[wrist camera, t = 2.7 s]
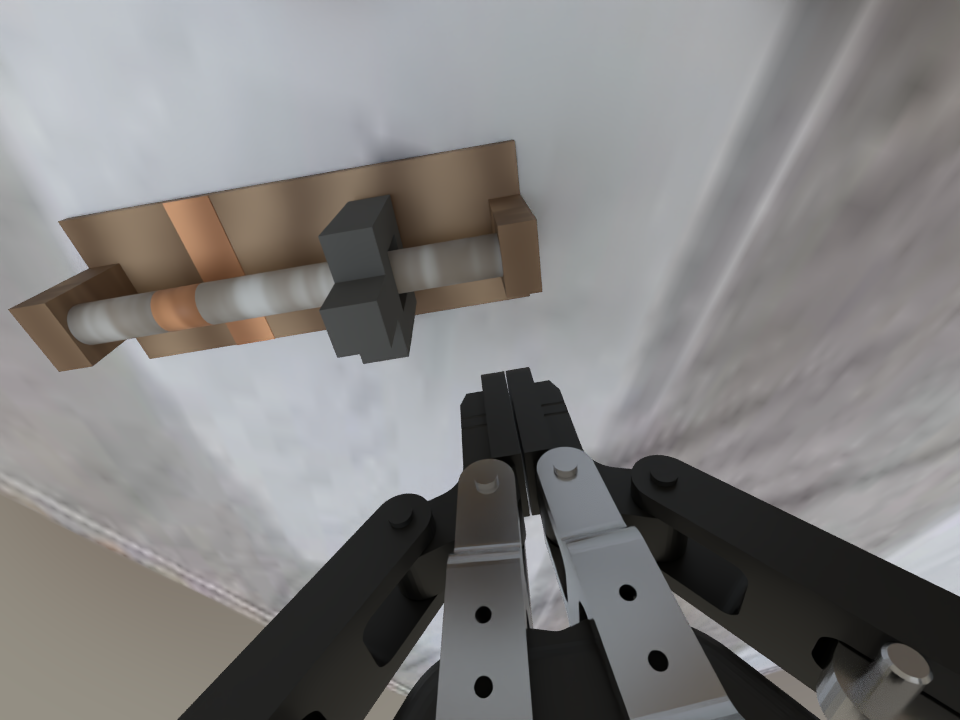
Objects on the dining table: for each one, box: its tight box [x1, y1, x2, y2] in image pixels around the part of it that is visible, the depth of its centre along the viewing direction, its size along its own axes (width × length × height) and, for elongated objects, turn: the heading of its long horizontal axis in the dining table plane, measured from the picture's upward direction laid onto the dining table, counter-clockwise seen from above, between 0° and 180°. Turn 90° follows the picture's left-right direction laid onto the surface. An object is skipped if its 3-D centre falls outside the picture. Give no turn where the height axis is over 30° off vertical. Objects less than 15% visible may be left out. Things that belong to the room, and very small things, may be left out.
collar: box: [318, 194, 417, 364], centre depth 23 cm, size 2×7×10 cm, turn 9°
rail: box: [8, 140, 542, 372], centre depth 26 cm, size 28×10×7 cm, turn 99°
